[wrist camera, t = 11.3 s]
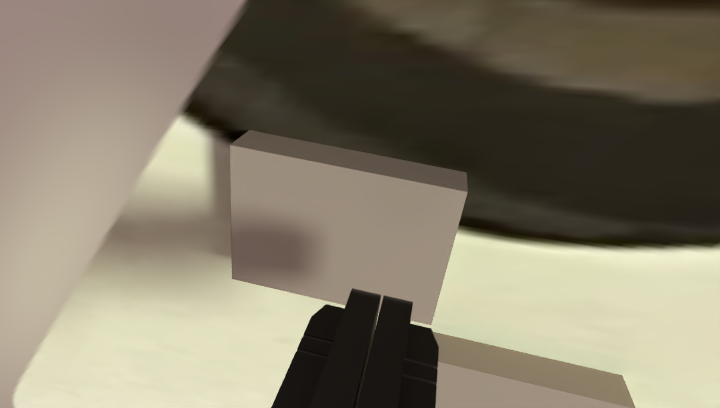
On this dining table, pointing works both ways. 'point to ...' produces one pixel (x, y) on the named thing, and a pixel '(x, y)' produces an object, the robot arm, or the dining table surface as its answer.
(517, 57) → the dining table surface
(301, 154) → the beige flat slab
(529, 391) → the beige rectangular block
